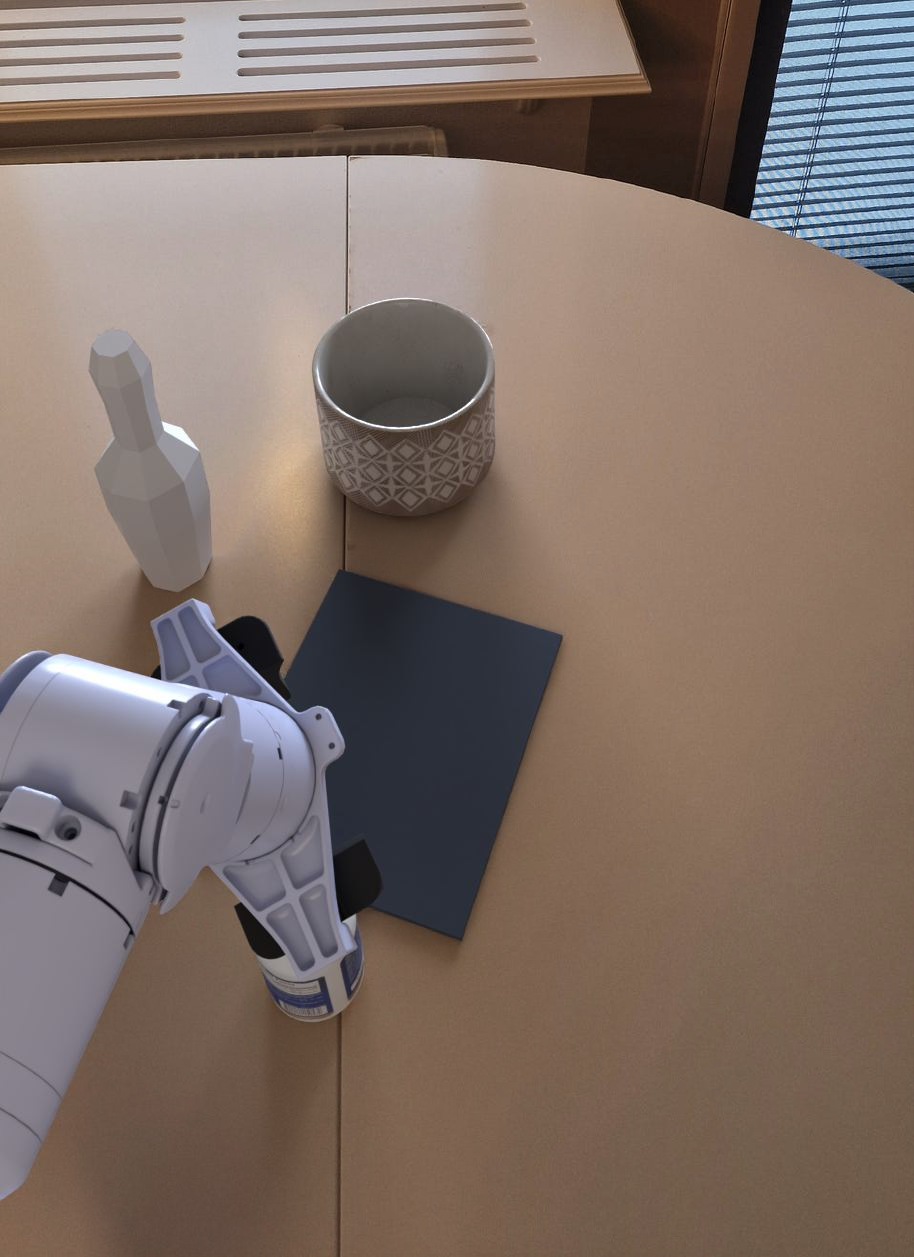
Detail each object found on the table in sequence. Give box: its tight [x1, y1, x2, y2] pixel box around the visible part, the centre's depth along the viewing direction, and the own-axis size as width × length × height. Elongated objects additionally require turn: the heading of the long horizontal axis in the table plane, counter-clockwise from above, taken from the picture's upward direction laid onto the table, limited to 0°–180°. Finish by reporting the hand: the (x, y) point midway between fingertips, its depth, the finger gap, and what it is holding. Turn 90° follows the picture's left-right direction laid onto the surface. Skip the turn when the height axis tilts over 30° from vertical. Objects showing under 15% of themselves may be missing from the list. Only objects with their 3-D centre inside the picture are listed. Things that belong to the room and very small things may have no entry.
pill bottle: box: [254, 914, 365, 1023], centre depth 67 cm, size 5×5×10 cm
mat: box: [283, 568, 564, 942], centre depth 80 cm, size 20×16×1 cm
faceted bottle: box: [88, 327, 213, 593], centre depth 82 cm, size 6×6×22 cm
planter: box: [311, 297, 496, 517], centre depth 93 cm, size 13×13×10 cm
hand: (303, 780), depth 58 cm, fingers open, 7 cm apart
